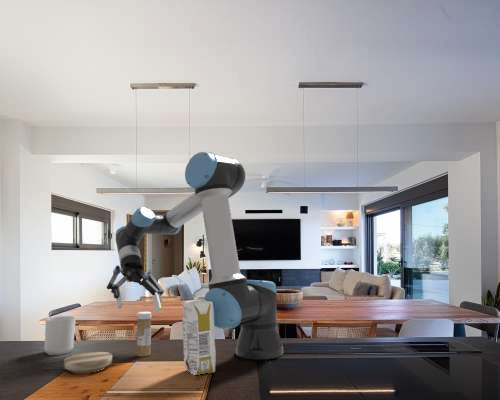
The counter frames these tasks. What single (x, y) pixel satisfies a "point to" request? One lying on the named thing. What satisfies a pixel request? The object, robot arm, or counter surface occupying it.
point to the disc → (87, 362)
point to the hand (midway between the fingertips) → (140, 308)
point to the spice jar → (143, 333)
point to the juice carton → (199, 336)
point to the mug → (59, 335)
